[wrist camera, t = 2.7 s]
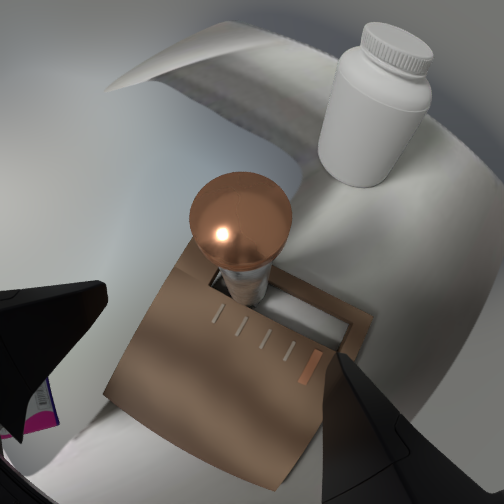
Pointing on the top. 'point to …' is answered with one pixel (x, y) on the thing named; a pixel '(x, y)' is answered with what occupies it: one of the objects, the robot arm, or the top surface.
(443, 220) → the top surface
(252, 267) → the capped cylinder
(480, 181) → the top surface
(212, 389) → the brown wooden flat board
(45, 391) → the supplement box
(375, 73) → the pill bottle
